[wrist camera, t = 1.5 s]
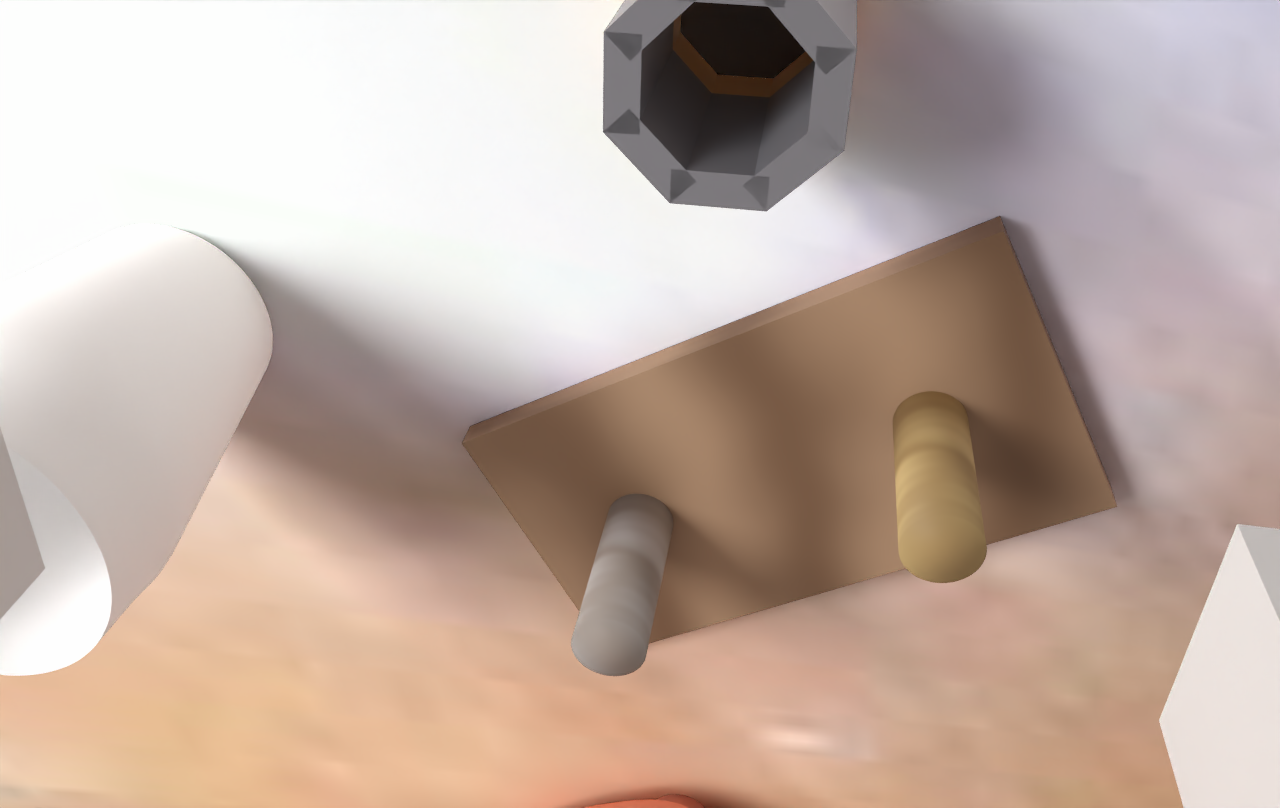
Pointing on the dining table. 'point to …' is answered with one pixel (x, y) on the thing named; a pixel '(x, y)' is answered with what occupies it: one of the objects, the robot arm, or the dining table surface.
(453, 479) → the dining table surface
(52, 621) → the cup
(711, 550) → the pin board
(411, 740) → the dining table surface
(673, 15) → the sleeve
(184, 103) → the dining table surface
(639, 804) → the teapot
